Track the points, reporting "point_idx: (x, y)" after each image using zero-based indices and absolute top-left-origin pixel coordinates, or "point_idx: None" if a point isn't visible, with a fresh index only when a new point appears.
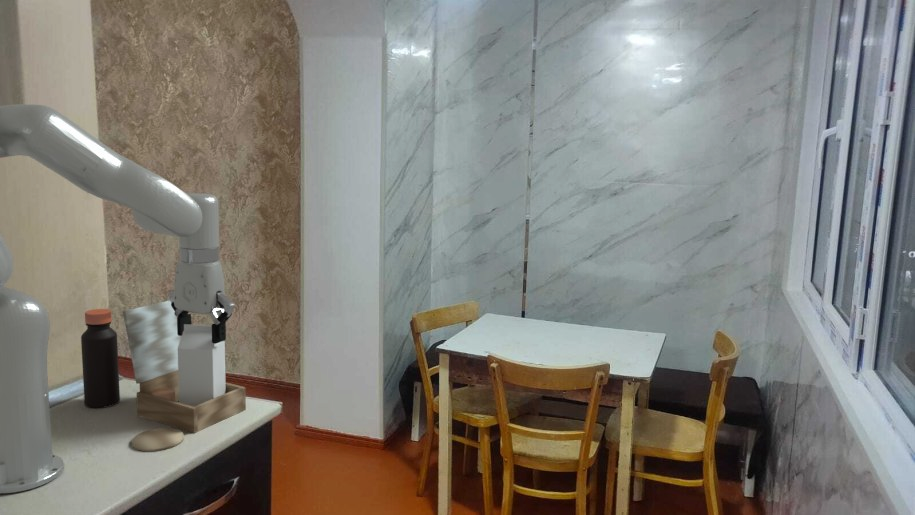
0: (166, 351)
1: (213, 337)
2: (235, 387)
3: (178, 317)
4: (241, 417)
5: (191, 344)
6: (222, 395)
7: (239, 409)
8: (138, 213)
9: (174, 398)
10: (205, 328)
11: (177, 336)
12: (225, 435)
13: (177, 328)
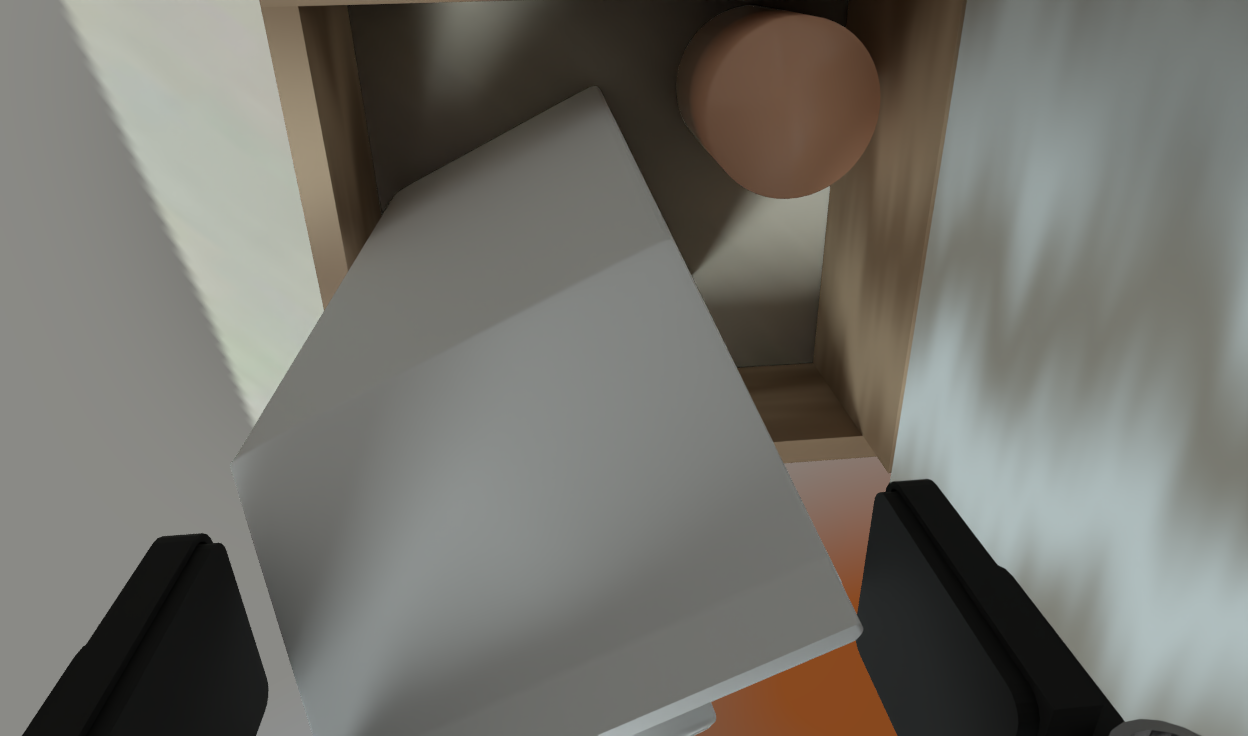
0: (1057, 383)
1: (128, 595)
2: None
3: (1056, 706)
4: (309, 322)
5: (536, 392)
6: None
7: None
8: None
9: (704, 144)
10: (498, 728)
11: (1112, 591)
12: (119, 65)
13: (974, 541)
